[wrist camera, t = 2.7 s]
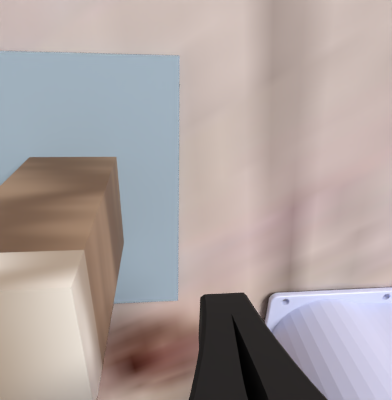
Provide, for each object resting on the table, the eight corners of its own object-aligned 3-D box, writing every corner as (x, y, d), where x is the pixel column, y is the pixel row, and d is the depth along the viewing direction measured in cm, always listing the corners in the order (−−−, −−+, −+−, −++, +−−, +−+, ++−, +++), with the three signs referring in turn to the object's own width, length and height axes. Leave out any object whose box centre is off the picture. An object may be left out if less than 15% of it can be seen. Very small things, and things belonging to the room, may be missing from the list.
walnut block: (116, 156, 16) (71, 287, 8) (123, 242, 18) (94, 410, 10) (29, 157, 15) (-113, 296, 7) (48, 244, 18) (-44, 422, 10)
